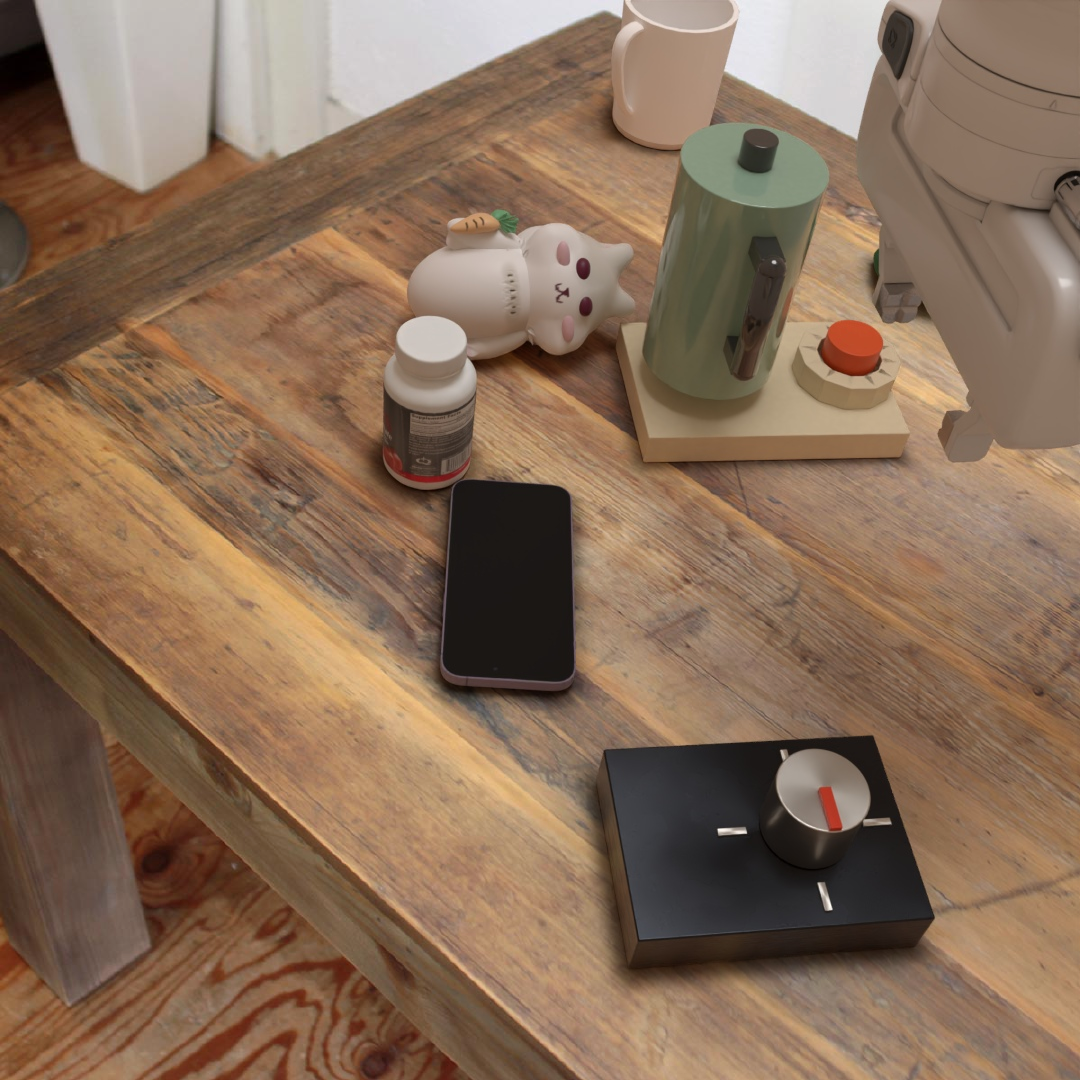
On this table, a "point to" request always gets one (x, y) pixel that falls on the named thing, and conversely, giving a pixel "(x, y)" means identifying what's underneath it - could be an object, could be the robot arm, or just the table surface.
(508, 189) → the table surface
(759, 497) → the table surface
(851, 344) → the button
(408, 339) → the pill bottle
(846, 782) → the knob
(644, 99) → the mug
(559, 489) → the smartphone
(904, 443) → the kettle base
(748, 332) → the kettle
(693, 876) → the dial panel
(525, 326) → the cat figurine
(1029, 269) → the robot arm
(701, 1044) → the table surface
